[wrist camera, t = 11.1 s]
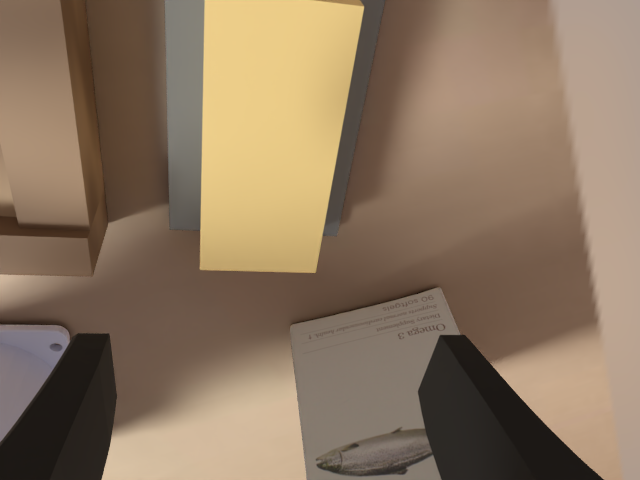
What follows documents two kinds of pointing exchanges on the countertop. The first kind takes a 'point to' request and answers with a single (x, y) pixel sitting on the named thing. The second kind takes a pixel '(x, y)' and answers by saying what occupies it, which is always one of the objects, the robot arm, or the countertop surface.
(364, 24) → the mat
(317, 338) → the supplement box
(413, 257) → the countertop surface
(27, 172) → the pocket board
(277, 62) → the bar
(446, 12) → the countertop surface
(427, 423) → the robot arm
